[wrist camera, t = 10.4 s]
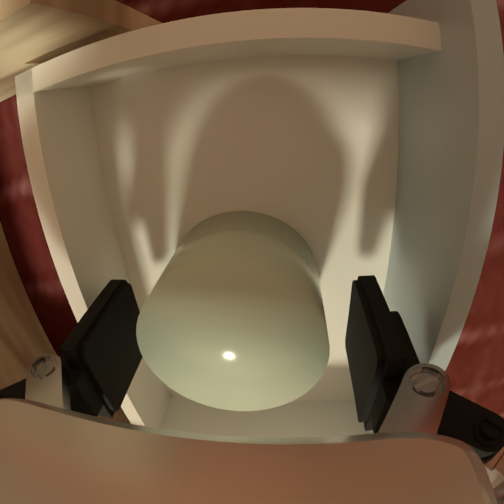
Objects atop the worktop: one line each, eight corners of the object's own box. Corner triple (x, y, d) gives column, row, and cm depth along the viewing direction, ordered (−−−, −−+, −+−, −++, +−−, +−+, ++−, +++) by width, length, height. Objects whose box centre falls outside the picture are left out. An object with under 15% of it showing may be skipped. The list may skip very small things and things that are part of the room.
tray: (404, 17, 9) (490, -24, 3) (365, 406, 18) (377, 487, 13) (82, 48, 10) (-24, 43, 5) (169, 404, 19) (146, 480, 14)
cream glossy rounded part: (319, 208, 12) (337, 269, 8) (315, 333, 14) (321, 410, 11) (162, 214, 12) (113, 272, 8) (187, 332, 15) (162, 405, 11)
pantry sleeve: (167, 26, 10) (32, -30, 3) (225, 404, 19) (206, 514, 12) (-31, 105, 11) (-138, 143, 4) (66, 382, 21) (24, 460, 14)
